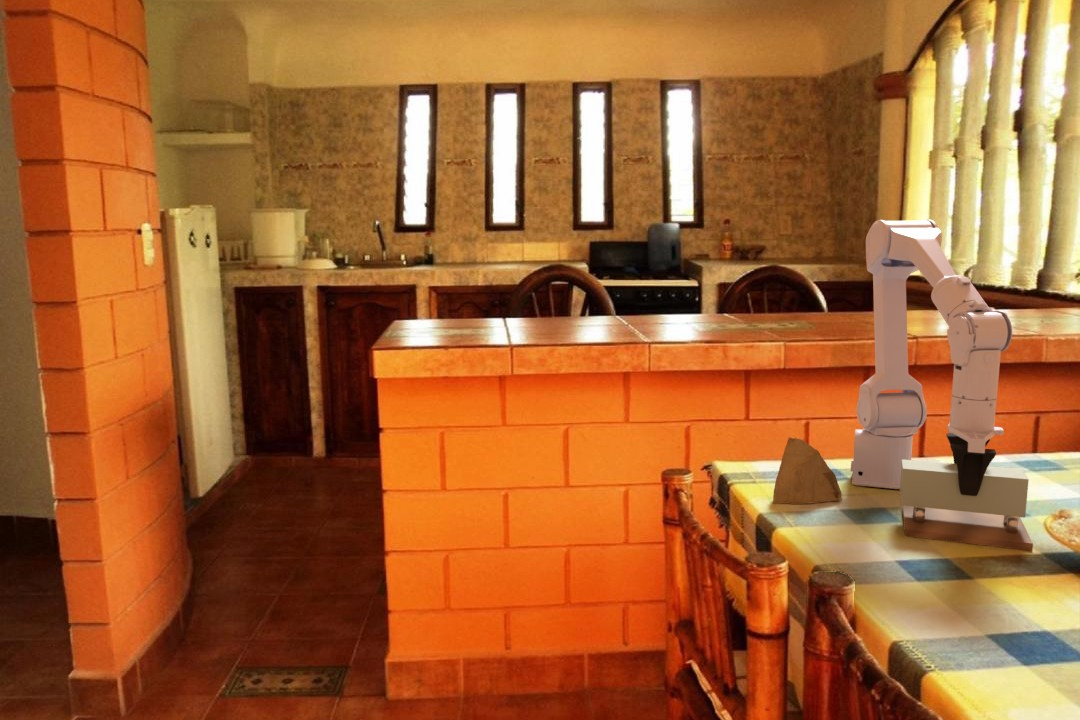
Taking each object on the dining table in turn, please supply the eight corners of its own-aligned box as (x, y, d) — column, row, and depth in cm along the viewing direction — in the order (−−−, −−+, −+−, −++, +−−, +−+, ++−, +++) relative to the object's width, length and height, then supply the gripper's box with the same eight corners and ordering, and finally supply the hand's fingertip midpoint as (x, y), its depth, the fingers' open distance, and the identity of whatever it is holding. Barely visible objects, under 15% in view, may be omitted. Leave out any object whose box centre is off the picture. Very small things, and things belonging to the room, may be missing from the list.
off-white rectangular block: (1019, 506, 125) (1022, 469, 124) (1025, 517, 121) (1028, 479, 120) (899, 494, 131) (901, 459, 130) (900, 505, 126) (903, 468, 125)
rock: (850, 480, 142) (790, 463, 147) (852, 448, 136) (789, 432, 141) (831, 534, 136) (768, 514, 141) (832, 503, 130) (767, 484, 135)
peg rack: (905, 535, 124) (906, 515, 123) (902, 511, 134) (903, 492, 133) (1032, 550, 118) (1034, 529, 118) (1019, 523, 128) (1021, 504, 128)
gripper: (1013, 409, 115) (1005, 507, 117) (998, 388, 128) (991, 477, 130) (954, 405, 117) (947, 502, 119) (946, 385, 130) (939, 472, 133)
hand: (966, 488), depth 125 cm, fingers closed on off-white rectangular block, 5 cm apart
